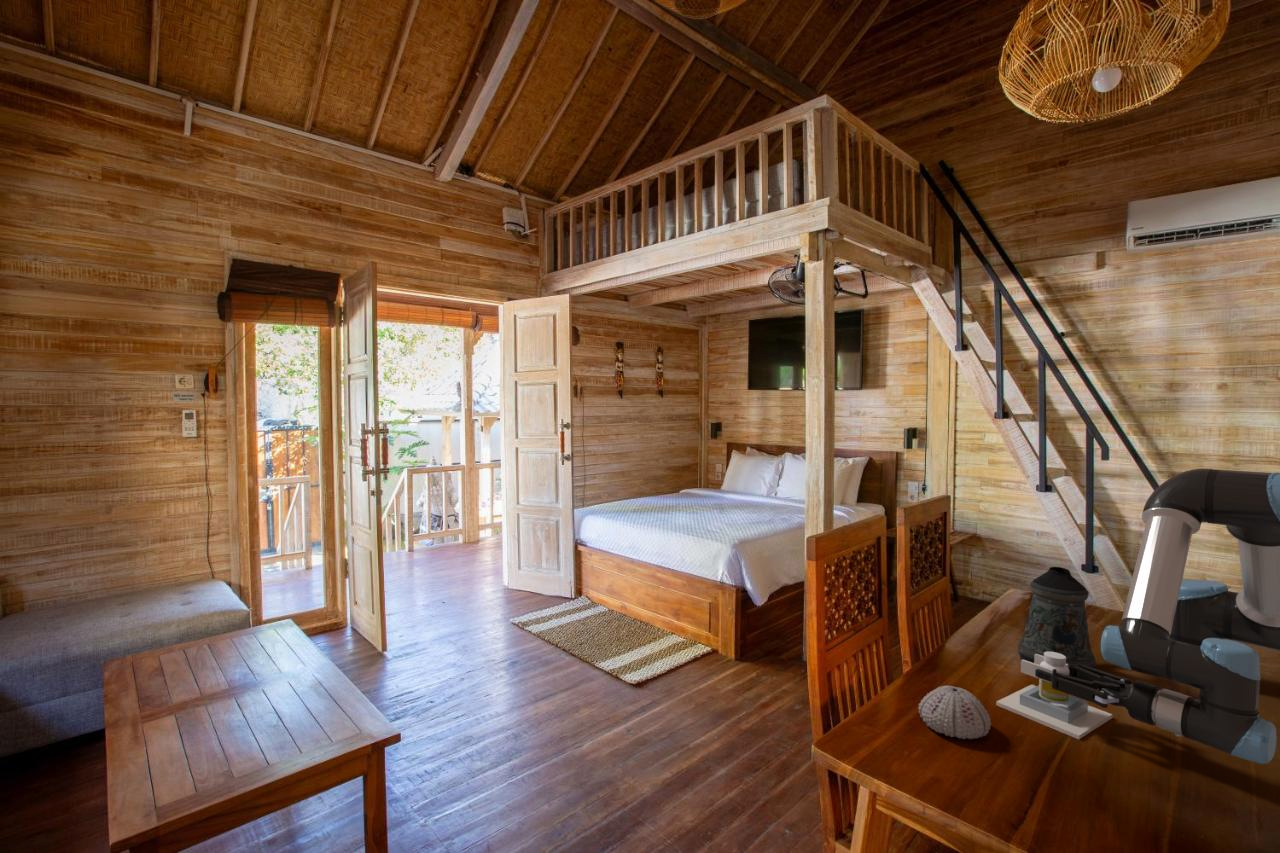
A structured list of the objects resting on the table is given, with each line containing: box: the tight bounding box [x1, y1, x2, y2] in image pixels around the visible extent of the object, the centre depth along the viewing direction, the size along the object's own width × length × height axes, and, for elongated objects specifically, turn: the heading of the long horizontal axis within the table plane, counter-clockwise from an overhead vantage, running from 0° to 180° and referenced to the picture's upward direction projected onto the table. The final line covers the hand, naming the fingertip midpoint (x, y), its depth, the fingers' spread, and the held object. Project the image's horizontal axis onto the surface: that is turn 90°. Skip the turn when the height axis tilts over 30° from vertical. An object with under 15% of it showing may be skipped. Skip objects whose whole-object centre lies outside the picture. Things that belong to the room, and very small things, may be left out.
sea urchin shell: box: [917, 685, 992, 740], centre depth 124 cm, size 13×14×8 cm
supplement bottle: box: [1038, 652, 1070, 704], centre depth 130 cm, size 5×5×10 cm
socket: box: [995, 684, 1113, 740], centre depth 131 cm, size 16×16×3 cm
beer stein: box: [1017, 566, 1097, 669], centre depth 155 cm, size 16×19×25 cm
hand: (1028, 662), depth 135 cm, fingers closed on supplement bottle, 5 cm apart
